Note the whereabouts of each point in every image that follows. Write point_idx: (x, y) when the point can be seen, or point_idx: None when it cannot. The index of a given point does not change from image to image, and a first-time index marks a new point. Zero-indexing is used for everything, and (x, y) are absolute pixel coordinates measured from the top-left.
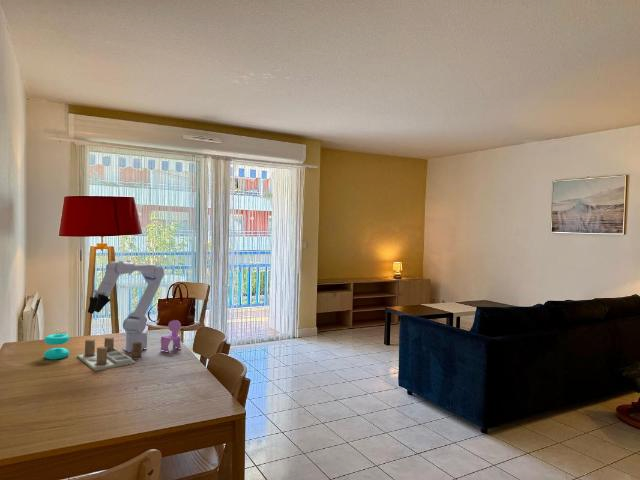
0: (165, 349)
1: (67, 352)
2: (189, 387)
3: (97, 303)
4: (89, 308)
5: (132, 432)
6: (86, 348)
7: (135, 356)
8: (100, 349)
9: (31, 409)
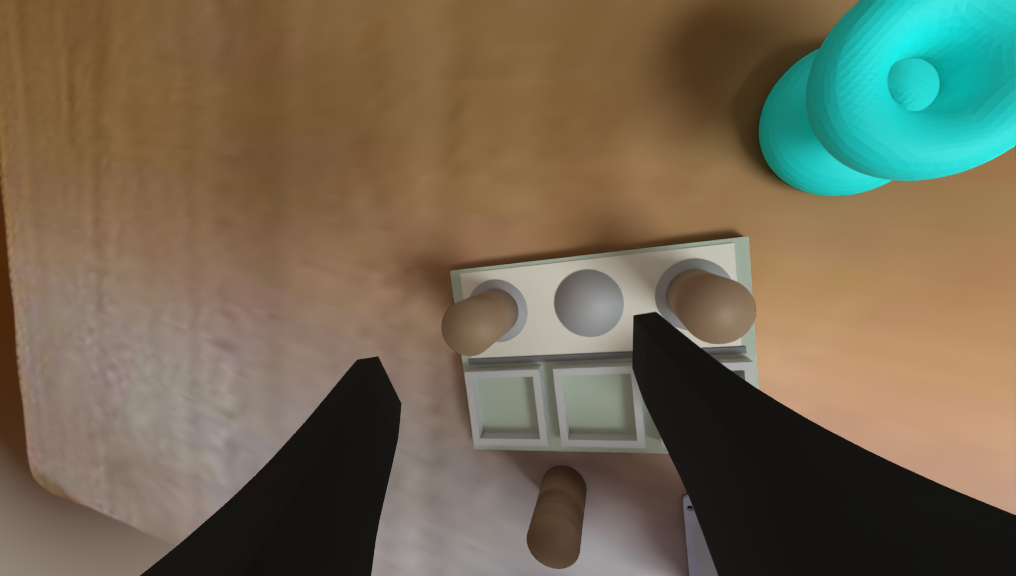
0: None
1: (798, 180)
2: (180, 472)
3: (271, 460)
4: (662, 355)
5: (12, 251)
6: (686, 278)
7: (544, 480)
8: (445, 313)
9: (177, 34)
